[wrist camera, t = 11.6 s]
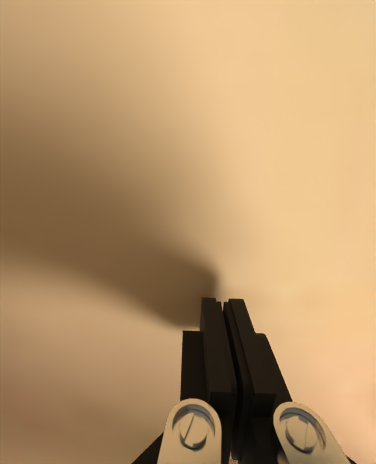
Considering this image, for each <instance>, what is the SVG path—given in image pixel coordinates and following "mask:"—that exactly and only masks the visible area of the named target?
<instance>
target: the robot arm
mask: <svg viewBox="0 0 376 464" xmlns="http://www.w3.org/2000/svg"><path fill="white" fill-rule="evenodd" d="M230 451H231V456H232V459H233V460H238V464H356V463H355V462H354V461H352V460H351V459H350V458H349V457H347V456H346V455H345V454H344V452H343V451H342V449H341V447H340V446H339V444H338V443H337V441H336V439H335V438H334V436H333V435H332V433H331V431H330V430H329V428H328V427H327V425H326V424H325V422H324V421H323V420H322V419H321V417H320V416H319V415H317V414H316V413H315V412H314V411H313V410H312V409H310V408H308V407H307V406H305V405H303V404H299V403H296V402H293V401H292V399H291V396H290V394H289V391H288V389H287V386H286V384H285V381H284V379H283V376H282V374H281V371H280V369H279V366H278V364H277V361H276V359H275V356H274V354H273V352H272V349H271V347H270V344H269V342H268V339H267V337H266V335H265V334H262V333H255V331H254V328H253V325H252V323H251V320H250V317H249V314H248V311H247V308H246V305H245V303H244V300H243V299H229V301H228V302H224V306H223V311H222V306H221V302H216V298H203V297H202V303H201V317H200V331H183V342H182V367H181V395H180V402H179V403H178V404H176V405H175V406H174V407H173V409H172V410H171V411H170V413H169V416H168V418H167V421H166V426H165V430H164V432H163V433H162V434H161V435H160V436H159V437H158V438H157V439H156V440H155V441H154V442H153V443H152V444H151V445H150V446H149V447H148V448H147V449H146V450H145V451H144V452H143V453H142V454H141V455H140V456H139V457H138V458H137V459H136V460H135V461H134V462H133V463H132V464H228V463H229V457H230Z"/></svg>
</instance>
